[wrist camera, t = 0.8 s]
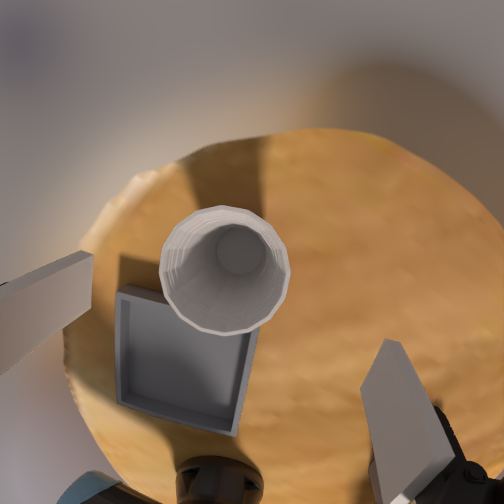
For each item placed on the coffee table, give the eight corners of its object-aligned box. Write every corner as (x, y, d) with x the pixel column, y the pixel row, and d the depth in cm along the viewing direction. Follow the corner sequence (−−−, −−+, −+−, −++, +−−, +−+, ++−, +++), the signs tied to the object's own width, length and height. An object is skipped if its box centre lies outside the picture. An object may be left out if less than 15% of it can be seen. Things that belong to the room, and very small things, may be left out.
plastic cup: (308, 250, 36) (319, 275, 24) (242, 312, 38) (225, 360, 26) (240, 183, 36) (219, 176, 24) (178, 249, 38) (134, 272, 26)
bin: (239, 421, 41) (235, 437, 38) (126, 391, 42) (116, 403, 39) (262, 314, 38) (260, 325, 34) (128, 283, 39) (115, 291, 36)
